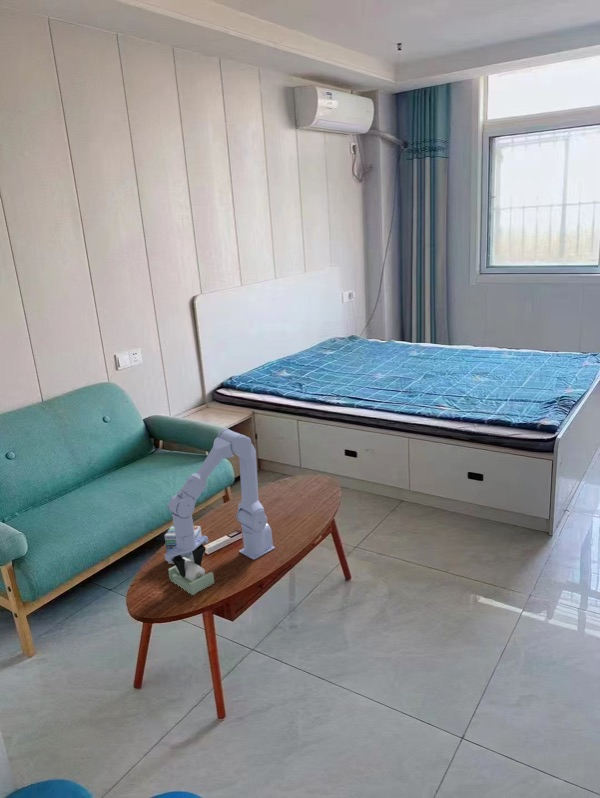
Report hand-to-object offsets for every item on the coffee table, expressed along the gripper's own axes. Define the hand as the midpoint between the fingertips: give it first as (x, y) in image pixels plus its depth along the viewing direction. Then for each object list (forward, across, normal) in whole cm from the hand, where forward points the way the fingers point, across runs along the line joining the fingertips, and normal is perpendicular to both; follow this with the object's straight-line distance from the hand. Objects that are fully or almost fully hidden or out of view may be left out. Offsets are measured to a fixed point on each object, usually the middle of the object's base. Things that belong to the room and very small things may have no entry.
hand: (190, 571), depth 182 cm
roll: (-1, 0, 0) cm, 1 cm away
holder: (+4, 0, 0) cm, 4 cm away
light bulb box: (+4, -6, -13) cm, 15 cm away
